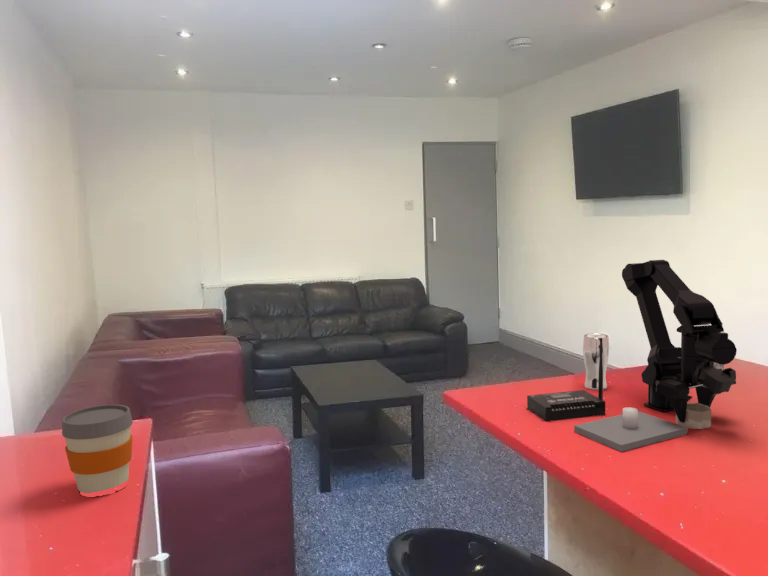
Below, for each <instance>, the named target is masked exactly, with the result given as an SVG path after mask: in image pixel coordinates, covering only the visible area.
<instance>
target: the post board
mask: <svg viewBox="0 0 768 576" xmlns="http://www.w3.org/2000/svg"><path fill="white" fill-rule="evenodd" d="M573 428H574V429H573V430H574V431H573V432H574V433H577V434H579V435H580V436H583V437H586V438H588V439H591V440H593V441H595V442H597V443H599V444H602V445H604V446H607V447H609V448H611V449H613V450H616V451H619V452H621V453H622V452H626V451H631V450H634V449H638V448H642V447H645V446H648V445H653V444H655V443H661V442H663V441H666V440H670V439H674V438H678V437H681V436H686V435H688V428H687V427H684V426H681V425H678V424H677V423H676V422H675V423H674V422H671V421H669V420H666V419H663V418H659V417H657V416H654V415H651V414H648V413H645V412H642V411H639V409H638V408H635V407H623V408H622V413H621V414H618V415H614V416H609V417H604V418H600V419H596V420H592V421H587V422H584V423H579V424H575V425H574V427H573Z"/></svg>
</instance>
